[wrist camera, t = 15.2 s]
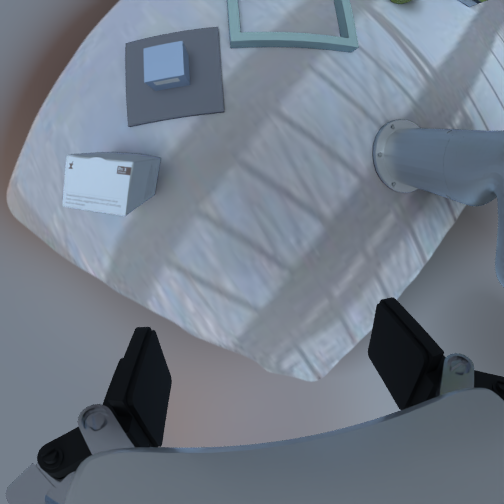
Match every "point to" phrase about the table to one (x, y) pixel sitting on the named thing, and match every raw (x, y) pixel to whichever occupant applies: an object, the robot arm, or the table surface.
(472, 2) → the tea box
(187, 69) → the slate box
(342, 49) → the tray
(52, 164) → the table surface
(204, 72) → the mat
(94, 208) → the skincare box
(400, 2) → the plant pot
